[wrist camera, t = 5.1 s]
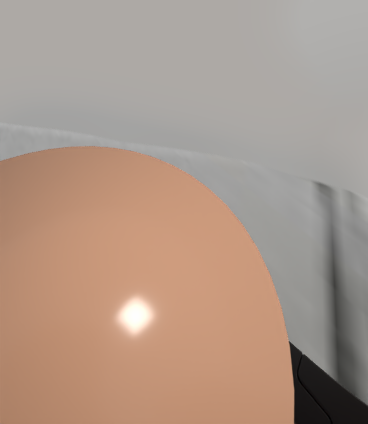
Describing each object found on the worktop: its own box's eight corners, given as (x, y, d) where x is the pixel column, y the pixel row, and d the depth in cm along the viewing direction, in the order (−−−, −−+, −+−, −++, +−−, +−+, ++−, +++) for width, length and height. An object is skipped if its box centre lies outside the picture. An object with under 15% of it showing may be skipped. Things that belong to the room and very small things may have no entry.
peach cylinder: (214, 408, 12) (453, 928, 1) (97, 420, 12) (-843, 1140, 1) (201, 289, 15) (233, 135, 4) (108, 297, 15) (-98, 158, 4)
